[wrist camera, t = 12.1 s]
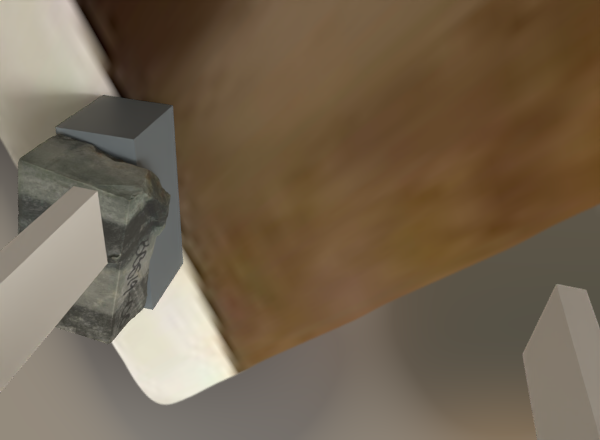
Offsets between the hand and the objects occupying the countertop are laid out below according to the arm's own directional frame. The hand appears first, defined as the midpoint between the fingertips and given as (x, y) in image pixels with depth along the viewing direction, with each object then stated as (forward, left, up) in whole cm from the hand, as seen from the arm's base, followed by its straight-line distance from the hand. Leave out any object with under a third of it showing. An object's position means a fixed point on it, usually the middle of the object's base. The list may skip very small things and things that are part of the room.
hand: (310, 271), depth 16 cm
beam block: (+15, -19, -26) cm, 36 cm away
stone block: (+15, -19, -20) cm, 31 cm away
